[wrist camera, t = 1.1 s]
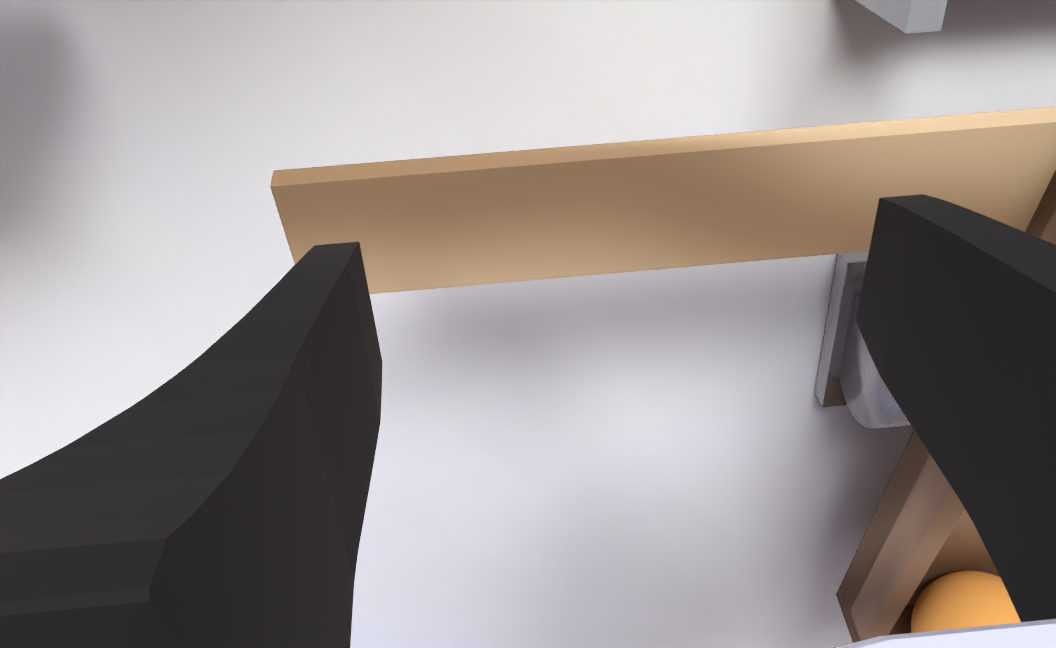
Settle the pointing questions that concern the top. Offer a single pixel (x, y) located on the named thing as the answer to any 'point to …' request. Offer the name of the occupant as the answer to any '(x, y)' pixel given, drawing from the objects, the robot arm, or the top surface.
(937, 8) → the tray
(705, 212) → the ramp
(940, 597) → the ball
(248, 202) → the top surface
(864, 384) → the fulcrum
